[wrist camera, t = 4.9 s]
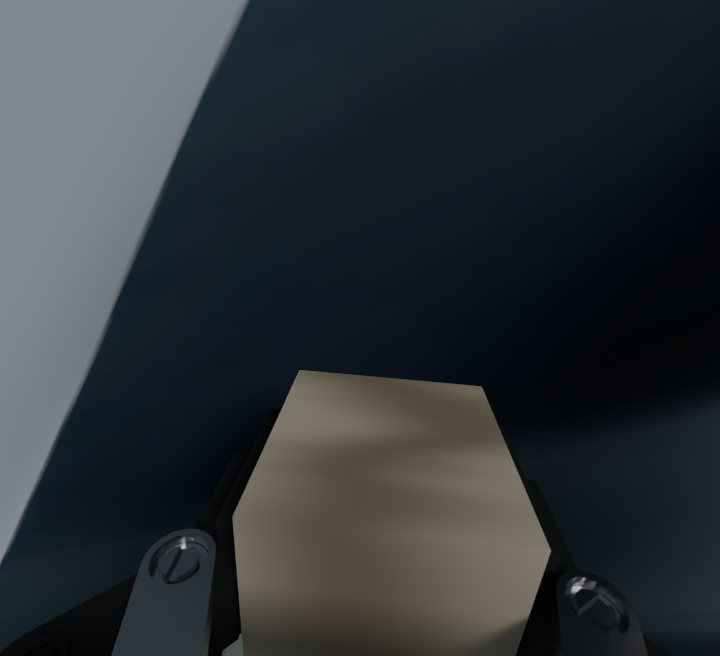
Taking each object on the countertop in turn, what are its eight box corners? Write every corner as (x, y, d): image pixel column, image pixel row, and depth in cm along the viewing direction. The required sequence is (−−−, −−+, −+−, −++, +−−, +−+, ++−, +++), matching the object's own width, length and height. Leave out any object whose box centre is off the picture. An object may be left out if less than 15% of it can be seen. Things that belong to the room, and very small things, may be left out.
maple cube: (481, 386, 11) (550, 550, 6) (453, 522, 13) (490, 728, 8) (299, 370, 11) (232, 516, 6) (298, 506, 13) (246, 697, 8)
